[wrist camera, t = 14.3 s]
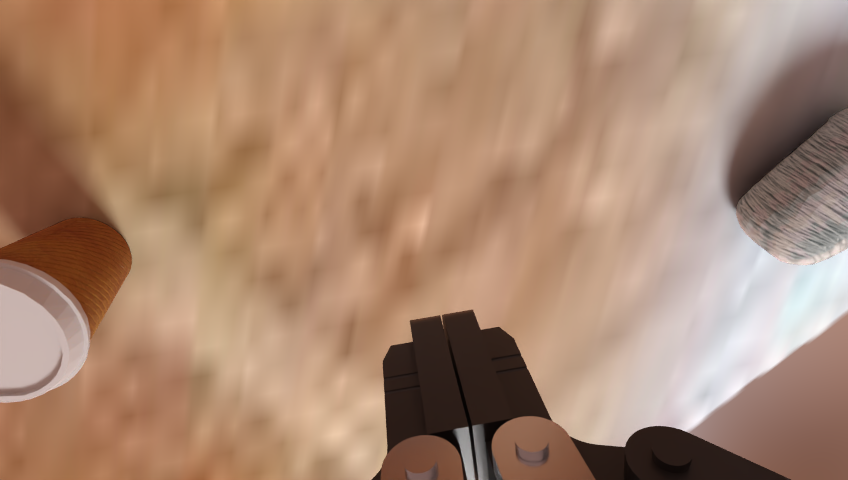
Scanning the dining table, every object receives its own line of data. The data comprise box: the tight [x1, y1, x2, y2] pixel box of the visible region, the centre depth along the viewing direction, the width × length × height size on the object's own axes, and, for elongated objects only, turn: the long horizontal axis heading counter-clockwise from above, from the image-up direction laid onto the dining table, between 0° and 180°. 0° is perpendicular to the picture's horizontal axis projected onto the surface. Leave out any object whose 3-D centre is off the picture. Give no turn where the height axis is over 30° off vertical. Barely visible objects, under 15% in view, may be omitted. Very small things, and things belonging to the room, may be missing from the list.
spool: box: [736, 108, 848, 265], centre depth 41 cm, size 14×10×10 cm
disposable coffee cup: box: [0, 218, 132, 402], centre depth 35 cm, size 10×10×12 cm
